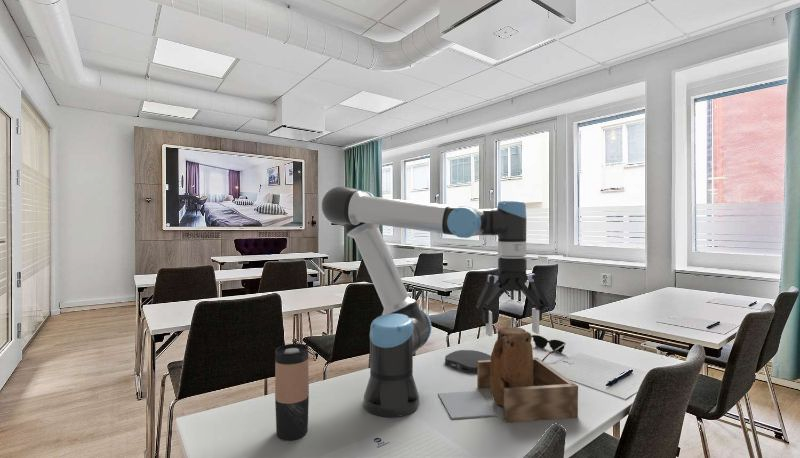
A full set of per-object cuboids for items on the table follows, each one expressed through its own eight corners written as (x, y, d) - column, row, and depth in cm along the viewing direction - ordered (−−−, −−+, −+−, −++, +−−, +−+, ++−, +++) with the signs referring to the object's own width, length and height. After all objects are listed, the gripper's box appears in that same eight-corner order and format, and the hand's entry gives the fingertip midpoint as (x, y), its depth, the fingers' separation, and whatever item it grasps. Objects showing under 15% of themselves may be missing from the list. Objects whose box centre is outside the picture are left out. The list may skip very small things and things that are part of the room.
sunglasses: (566, 354, 146) (565, 341, 146) (544, 367, 136) (544, 354, 135) (532, 346, 157) (532, 333, 156) (510, 357, 146) (510, 344, 146)
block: (518, 392, 113) (518, 324, 112) (536, 404, 106) (536, 331, 105) (486, 399, 109) (487, 328, 108) (503, 411, 102) (503, 335, 101)
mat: (451, 419, 98) (451, 417, 98) (438, 394, 111) (438, 393, 111) (496, 415, 99) (496, 414, 99) (478, 392, 113) (478, 390, 113)
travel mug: (311, 423, 95) (311, 343, 95) (305, 441, 88) (304, 353, 87) (280, 424, 95) (280, 343, 95) (271, 441, 88) (270, 354, 87)
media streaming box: (499, 365, 136) (499, 356, 136) (474, 376, 126) (474, 367, 126) (466, 354, 146) (466, 346, 146) (440, 363, 137) (440, 355, 137)
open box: (506, 422, 96) (506, 390, 96) (477, 386, 117) (477, 360, 117) (577, 417, 99) (578, 386, 99) (537, 383, 120) (537, 357, 119)
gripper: (473, 259, 101) (473, 340, 101) (561, 257, 105) (562, 335, 105) (464, 256, 108) (464, 332, 109) (547, 254, 112) (547, 327, 112)
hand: (512, 333), depth 107 cm, fingers open, 13 cm apart
